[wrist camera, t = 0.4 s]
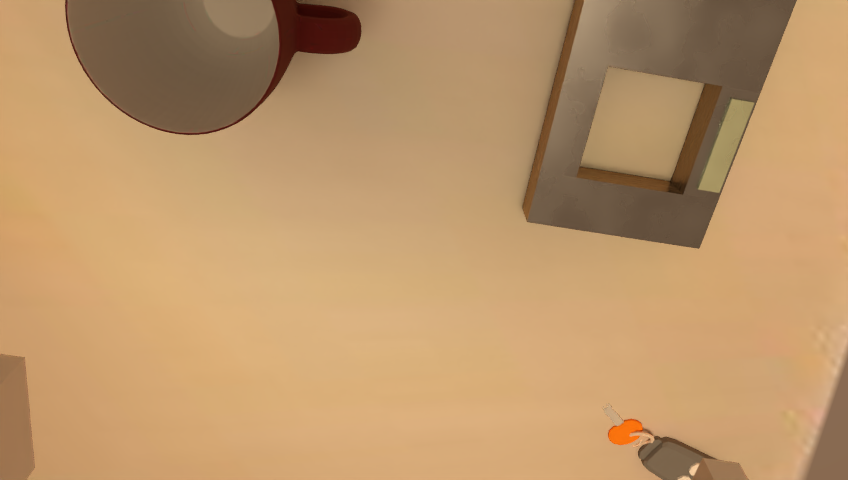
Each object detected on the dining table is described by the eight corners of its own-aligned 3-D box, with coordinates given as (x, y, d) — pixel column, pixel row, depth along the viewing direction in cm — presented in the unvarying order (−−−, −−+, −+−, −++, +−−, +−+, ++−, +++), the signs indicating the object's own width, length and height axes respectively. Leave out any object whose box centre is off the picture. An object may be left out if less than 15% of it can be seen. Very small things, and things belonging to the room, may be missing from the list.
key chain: (727, 458, 48) (736, 473, 47) (691, 490, 50) (699, 506, 48) (587, 378, 45) (592, 392, 44) (553, 415, 46) (557, 429, 45)
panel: (651, -303, 29) (668, -319, 27) (871, -255, 29) (904, -268, 27) (522, 207, 39) (527, 223, 37) (686, 233, 40) (700, 250, 38)
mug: (365, -89, 32) (342, -89, 23) (371, 79, 36) (353, 136, 27) (146, -89, 32) (38, -88, 23) (174, 79, 36) (90, 136, 27)
